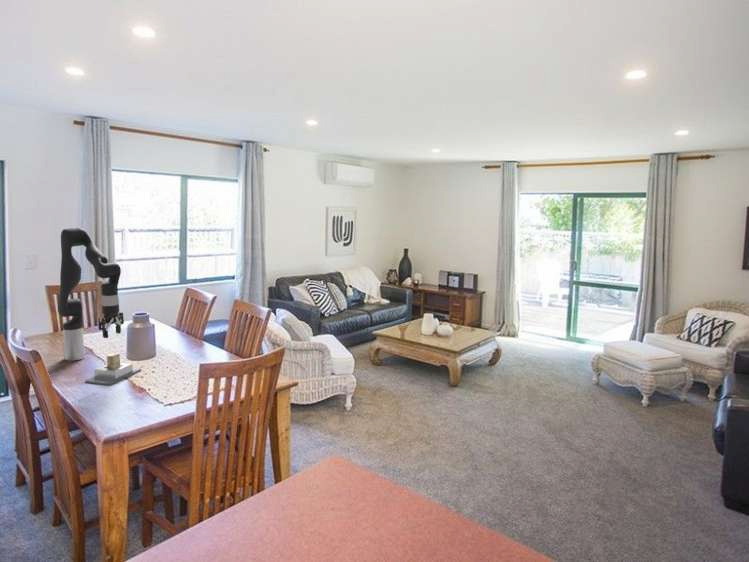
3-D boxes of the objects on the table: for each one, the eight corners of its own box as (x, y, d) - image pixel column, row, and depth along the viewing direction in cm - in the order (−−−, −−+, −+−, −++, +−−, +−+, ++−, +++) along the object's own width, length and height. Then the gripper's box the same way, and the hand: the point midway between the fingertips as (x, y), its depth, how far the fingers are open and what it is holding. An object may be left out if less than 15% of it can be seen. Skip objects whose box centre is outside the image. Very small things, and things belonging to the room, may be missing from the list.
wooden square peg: (107, 375, 246) (106, 355, 245) (113, 372, 250) (112, 353, 249) (114, 375, 246) (113, 356, 244) (120, 373, 250) (119, 354, 248)
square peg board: (85, 382, 239) (84, 372, 238) (117, 367, 260) (117, 358, 259) (110, 385, 236) (109, 375, 235) (141, 370, 257) (140, 361, 256)
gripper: (114, 300, 251) (116, 331, 254) (92, 305, 238) (94, 338, 240) (127, 301, 250) (128, 332, 252) (106, 307, 236) (108, 340, 239)
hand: (112, 335), depth 246 cm, fingers open, 8 cm apart
